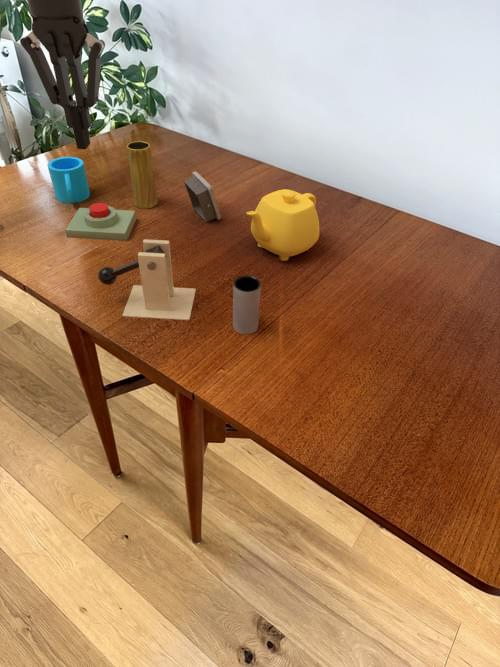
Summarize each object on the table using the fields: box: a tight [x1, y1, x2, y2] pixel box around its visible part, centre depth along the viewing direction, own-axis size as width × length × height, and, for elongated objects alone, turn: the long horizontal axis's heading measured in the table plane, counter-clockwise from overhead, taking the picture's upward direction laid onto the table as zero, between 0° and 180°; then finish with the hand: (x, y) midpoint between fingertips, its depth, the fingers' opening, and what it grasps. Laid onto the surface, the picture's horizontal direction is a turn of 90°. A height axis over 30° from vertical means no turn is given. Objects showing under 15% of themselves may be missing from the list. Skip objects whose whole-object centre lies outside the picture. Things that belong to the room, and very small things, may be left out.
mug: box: [47, 156, 91, 204], centre depth 112 cm, size 12×8×8 cm
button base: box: [64, 205, 137, 242], centre depth 104 cm, size 13×10×4 cm
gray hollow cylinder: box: [232, 274, 262, 335], centre depth 79 cm, size 4×4×10 cm
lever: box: [97, 245, 166, 286], centre depth 80 cm, size 13×3×3 cm, turn 87°
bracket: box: [121, 238, 197, 321], centre depth 82 cm, size 12×9×13 cm
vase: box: [126, 140, 159, 210], centre depth 110 cm, size 6×6×14 cm
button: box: [88, 202, 109, 218], centre depth 102 cm, size 4×4×2 cm
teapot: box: [245, 188, 320, 262], centre depth 98 cm, size 14×20×13 cm
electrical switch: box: [183, 170, 222, 223], centre depth 109 cm, size 9×5×9 cm, turn 29°
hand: (83, 146), depth 84 cm, fingers closed
